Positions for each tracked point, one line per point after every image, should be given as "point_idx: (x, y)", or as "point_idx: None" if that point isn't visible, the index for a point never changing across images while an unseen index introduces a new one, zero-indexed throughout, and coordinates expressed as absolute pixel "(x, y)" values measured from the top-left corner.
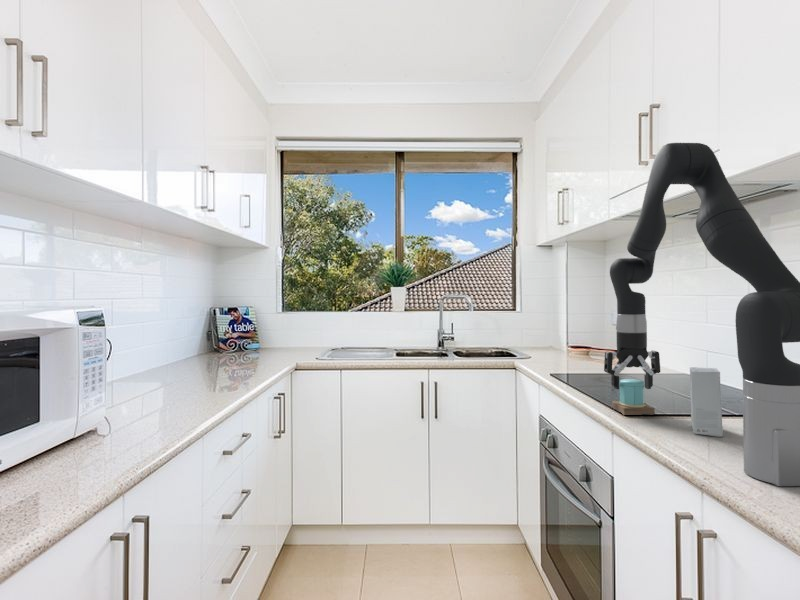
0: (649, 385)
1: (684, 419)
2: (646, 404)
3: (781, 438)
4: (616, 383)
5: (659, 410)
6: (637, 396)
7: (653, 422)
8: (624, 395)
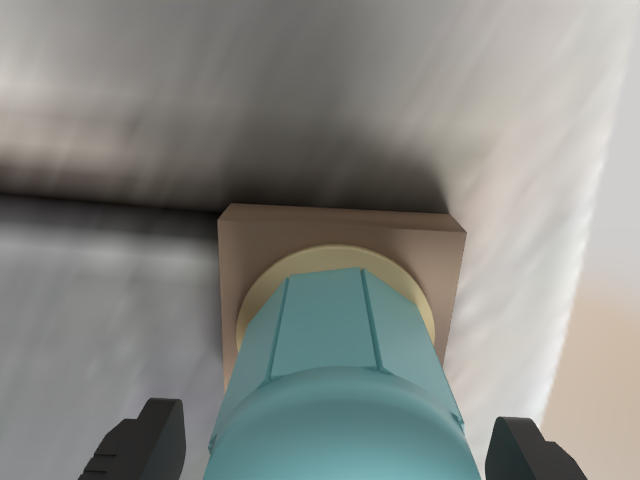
0: (152, 422)
1: (57, 82)
2: (226, 328)
3: None
4: (560, 471)
5: (137, 323)
6: (336, 306)
7: (333, 13)
8: (435, 354)
